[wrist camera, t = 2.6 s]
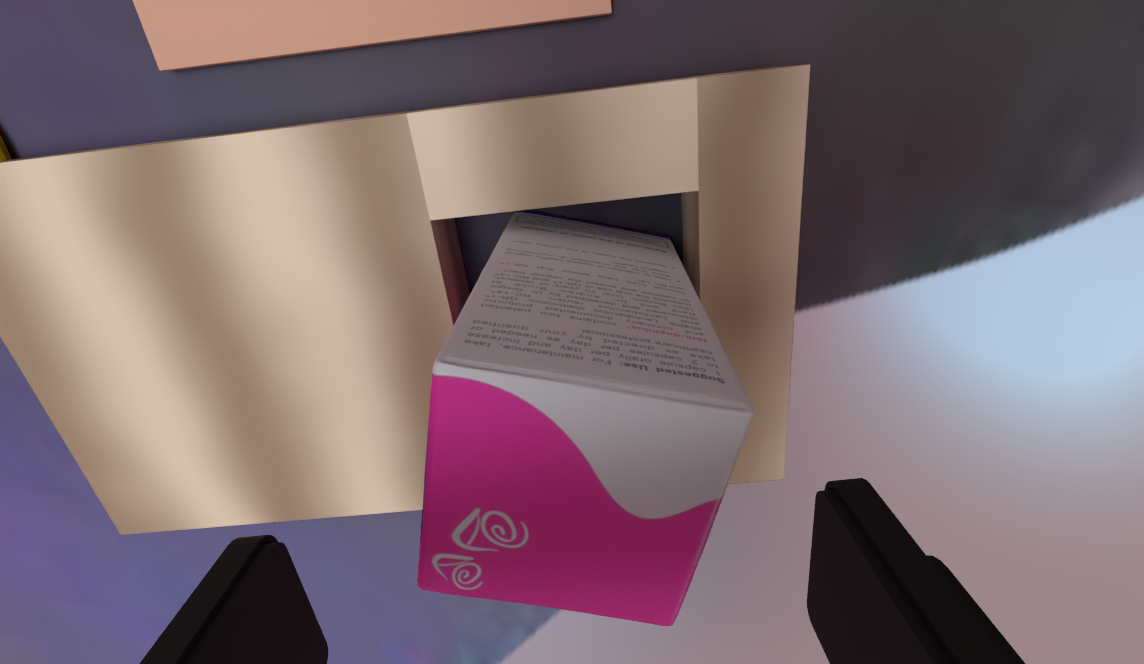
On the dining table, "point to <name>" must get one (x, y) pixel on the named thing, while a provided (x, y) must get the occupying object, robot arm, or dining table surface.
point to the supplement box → (578, 426)
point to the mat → (326, 24)
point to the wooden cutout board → (361, 282)
